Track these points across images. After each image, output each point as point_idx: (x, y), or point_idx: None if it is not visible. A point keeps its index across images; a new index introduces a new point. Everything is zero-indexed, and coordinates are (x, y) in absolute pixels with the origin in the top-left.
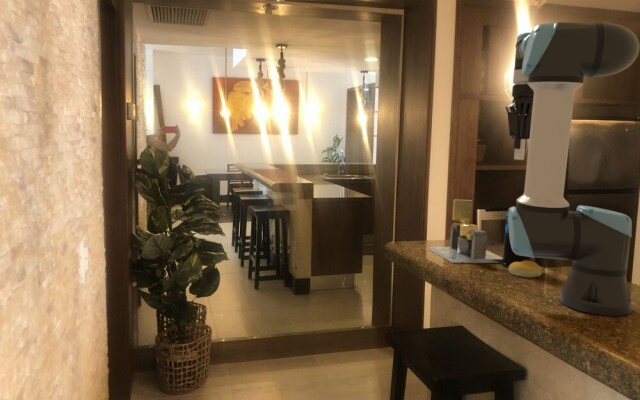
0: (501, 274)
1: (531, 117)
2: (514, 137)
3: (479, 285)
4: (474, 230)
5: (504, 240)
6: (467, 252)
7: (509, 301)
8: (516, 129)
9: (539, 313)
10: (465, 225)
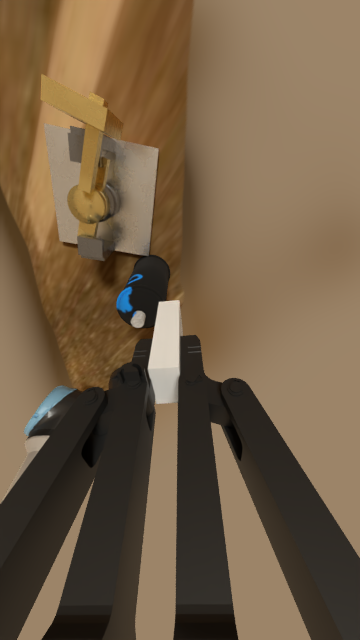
0: (107, 301)
1: (321, 635)
2: (116, 393)
3: (61, 329)
4: (86, 240)
5: (130, 276)
6: None
7: (70, 364)
8: (88, 465)
9: (80, 384)
10: (75, 209)
